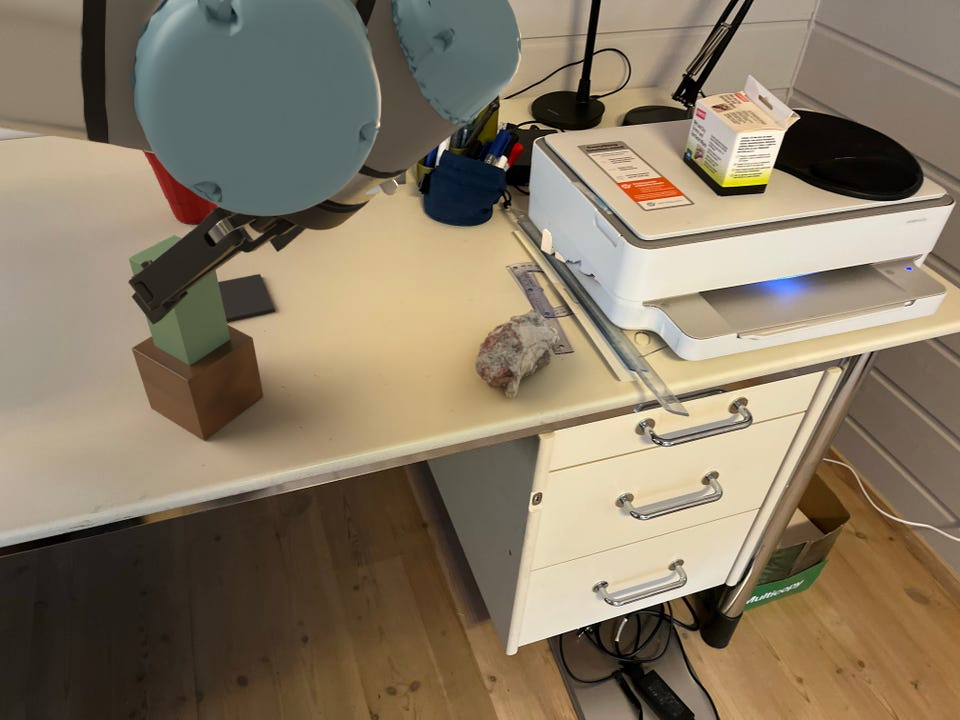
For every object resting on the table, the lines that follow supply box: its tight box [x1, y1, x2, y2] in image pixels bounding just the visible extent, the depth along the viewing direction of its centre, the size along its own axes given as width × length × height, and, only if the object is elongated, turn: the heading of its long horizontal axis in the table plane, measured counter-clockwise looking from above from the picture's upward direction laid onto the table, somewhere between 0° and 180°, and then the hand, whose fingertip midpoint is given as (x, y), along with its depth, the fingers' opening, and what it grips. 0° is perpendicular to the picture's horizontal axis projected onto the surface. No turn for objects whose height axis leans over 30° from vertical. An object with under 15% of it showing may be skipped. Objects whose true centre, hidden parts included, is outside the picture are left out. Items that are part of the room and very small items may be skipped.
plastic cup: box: [141, 150, 218, 225], centre depth 103 cm, size 11×11×12 cm
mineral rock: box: [474, 308, 561, 400], centre depth 84 cm, size 15×8×4 cm, turn 142°
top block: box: [128, 234, 230, 366], centre depth 70 cm, size 5×5×10 cm
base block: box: [131, 324, 264, 442], centre depth 76 cm, size 8×8×8 cm
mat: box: [218, 273, 276, 323], centre depth 91 cm, size 12×8×1 cm, turn 115°
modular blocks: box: [540, 228, 567, 263], centre depth 100 cm, size 20×7×4 cm, turn 44°
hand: (212, 271), depth 64 cm, fingers open, 13 cm apart
